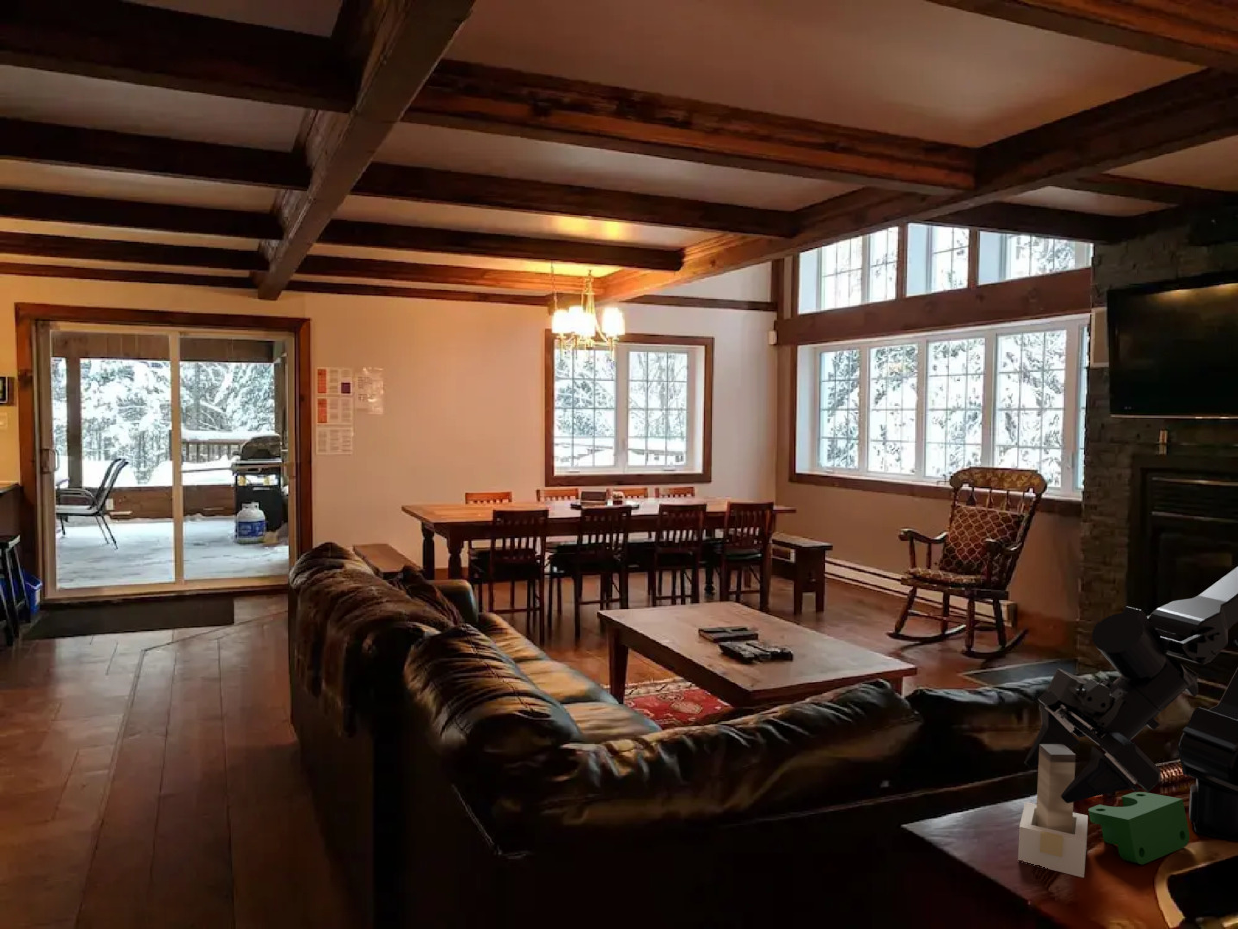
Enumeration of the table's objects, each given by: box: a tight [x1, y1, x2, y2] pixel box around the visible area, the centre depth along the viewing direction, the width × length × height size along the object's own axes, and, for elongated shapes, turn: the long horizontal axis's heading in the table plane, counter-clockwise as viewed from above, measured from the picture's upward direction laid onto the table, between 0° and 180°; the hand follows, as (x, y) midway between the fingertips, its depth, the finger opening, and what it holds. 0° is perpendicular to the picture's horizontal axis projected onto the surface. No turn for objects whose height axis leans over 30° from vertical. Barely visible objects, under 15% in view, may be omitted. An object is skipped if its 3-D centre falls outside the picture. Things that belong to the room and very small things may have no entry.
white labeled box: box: [1017, 801, 1089, 878], centre depth 108 cm, size 7×8×5 cm
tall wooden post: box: [1036, 744, 1077, 834], centre depth 108 cm, size 3×3×13 cm
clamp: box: [1088, 791, 1190, 865], centre depth 111 cm, size 12×6×9 cm, turn 112°
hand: (1044, 782), depth 108 cm, fingers open, 9 cm apart
